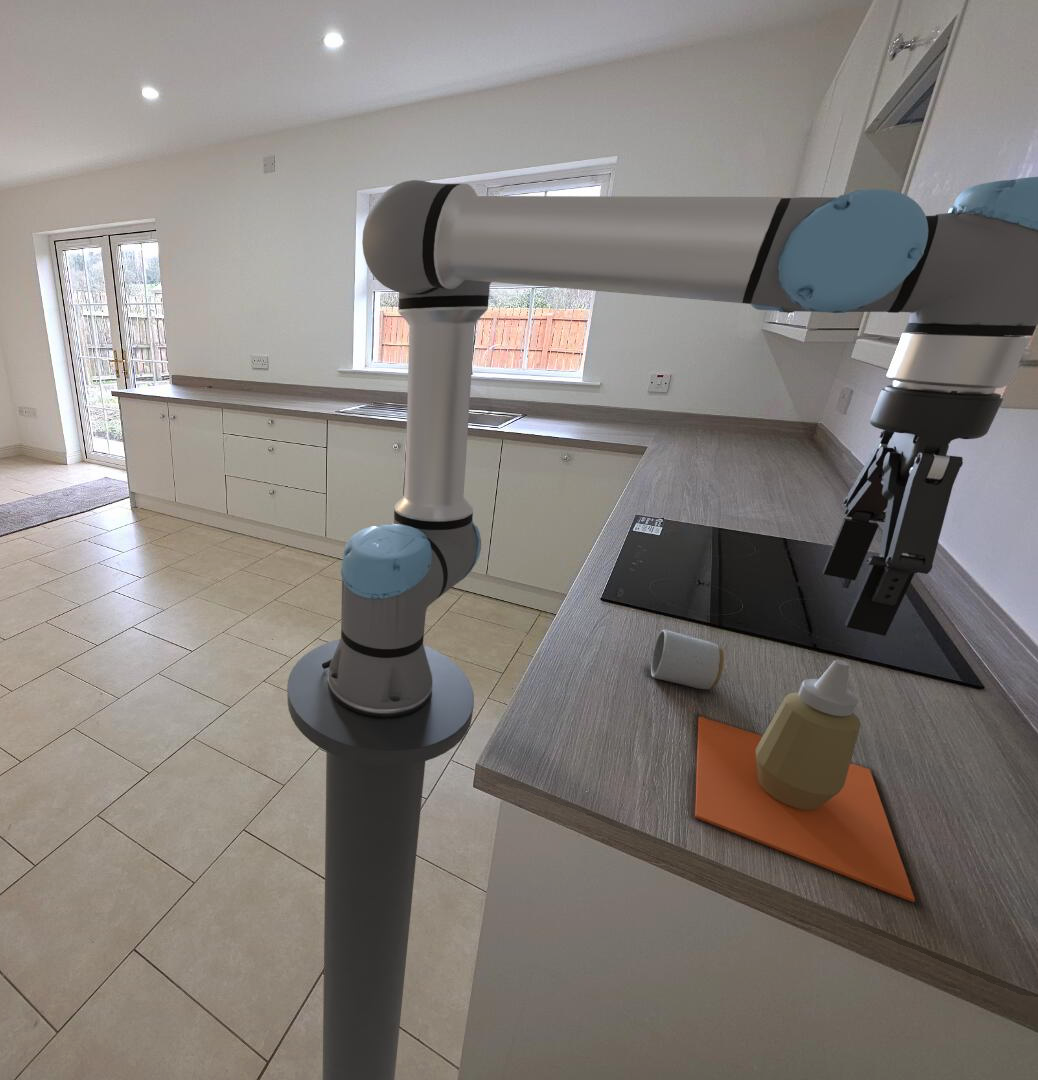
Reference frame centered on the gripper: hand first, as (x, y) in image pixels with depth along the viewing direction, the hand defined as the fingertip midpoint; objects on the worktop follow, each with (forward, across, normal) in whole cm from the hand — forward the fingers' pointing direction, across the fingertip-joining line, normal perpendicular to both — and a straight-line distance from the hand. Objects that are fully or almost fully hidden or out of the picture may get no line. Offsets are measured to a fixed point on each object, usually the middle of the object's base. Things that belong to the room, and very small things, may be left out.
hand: (850, 600), depth 57 cm
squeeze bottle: (+25, 0, -2) cm, 25 cm away
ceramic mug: (+26, +20, +10) cm, 34 cm away
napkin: (+26, 0, -2) cm, 26 cm away
